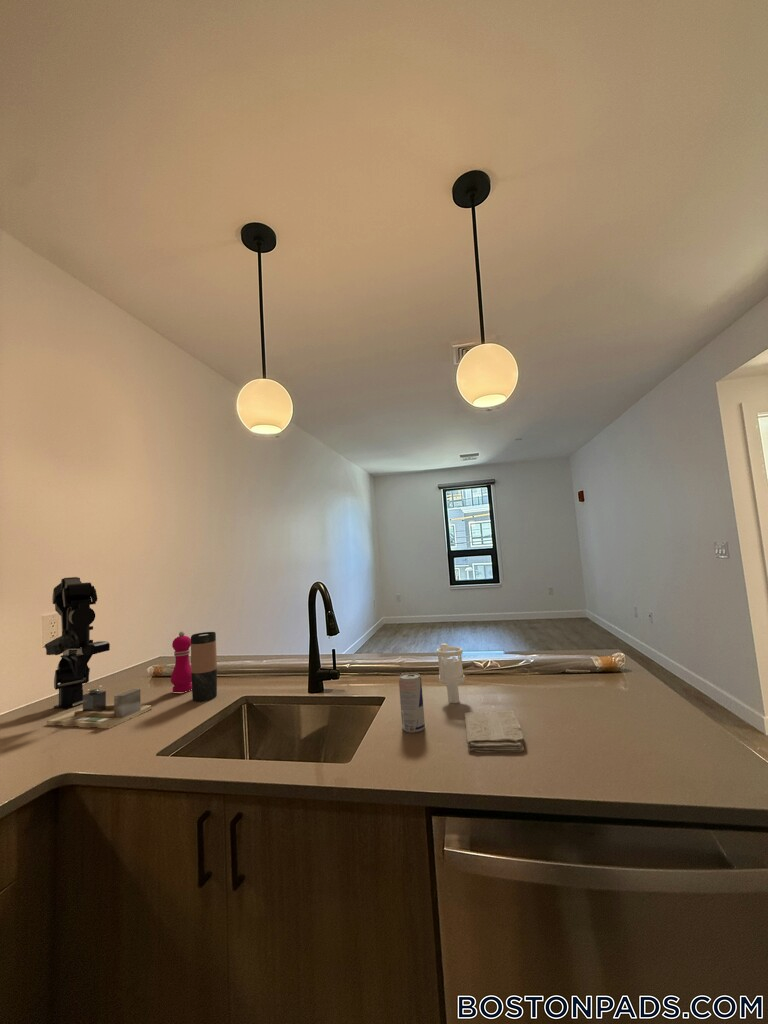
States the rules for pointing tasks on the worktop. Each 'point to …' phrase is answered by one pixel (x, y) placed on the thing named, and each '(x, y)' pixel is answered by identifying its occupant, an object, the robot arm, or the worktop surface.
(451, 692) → the white stepped column
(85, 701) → the gauge slider
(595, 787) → the worktop surface
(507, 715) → the washcloth
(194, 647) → the travel mug
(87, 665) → the robot arm
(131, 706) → the gauge board
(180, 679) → the pepper mill
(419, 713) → the energy drink
